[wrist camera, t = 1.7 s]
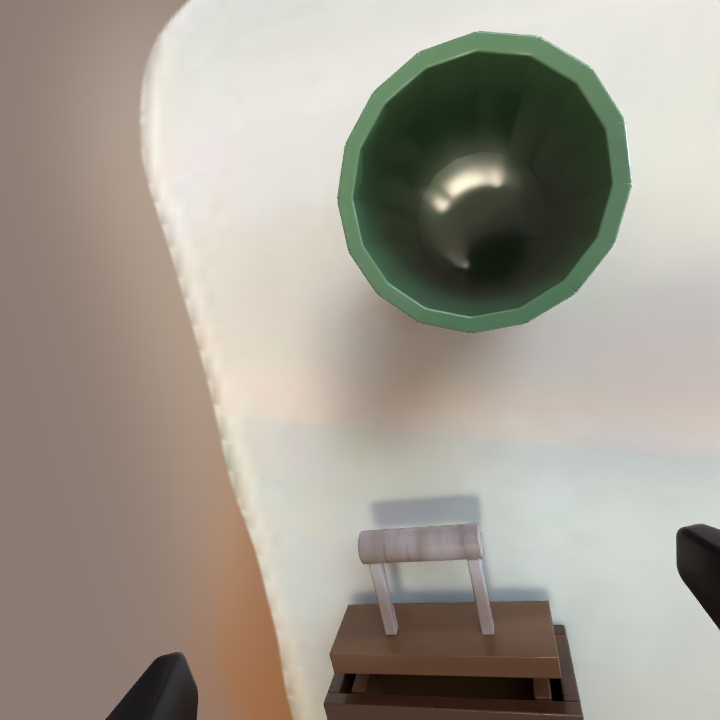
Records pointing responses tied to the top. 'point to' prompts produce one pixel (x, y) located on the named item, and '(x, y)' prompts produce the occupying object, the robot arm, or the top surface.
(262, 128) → the top surface
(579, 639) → the top surface
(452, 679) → the drawer
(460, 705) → the cabinet
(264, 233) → the top surface
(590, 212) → the green cup
